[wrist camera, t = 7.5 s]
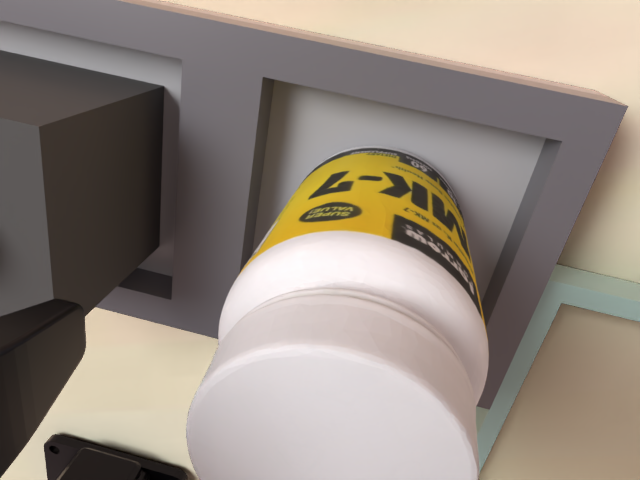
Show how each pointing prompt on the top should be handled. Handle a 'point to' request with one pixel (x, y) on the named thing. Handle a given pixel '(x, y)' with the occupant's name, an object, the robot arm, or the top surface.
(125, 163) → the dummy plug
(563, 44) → the top surface
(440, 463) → the supplement bottle
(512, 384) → the green square frame
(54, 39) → the grey socket tray
